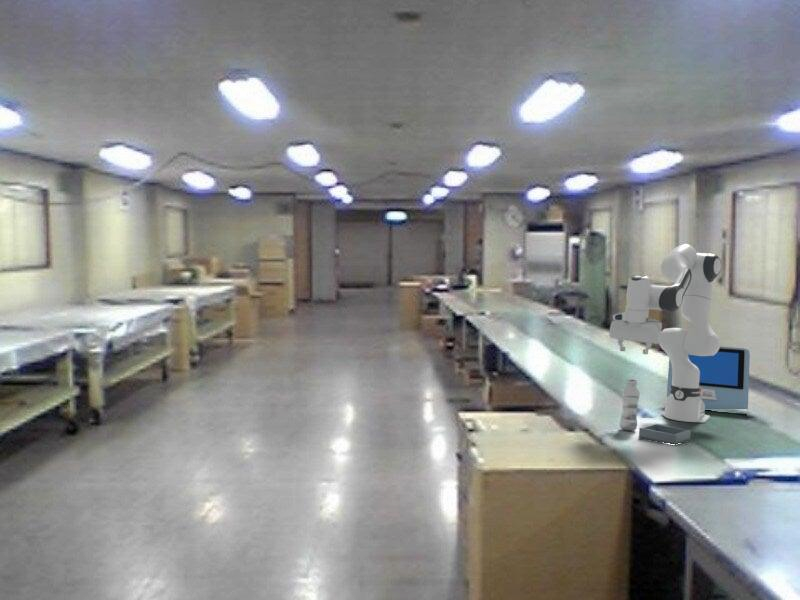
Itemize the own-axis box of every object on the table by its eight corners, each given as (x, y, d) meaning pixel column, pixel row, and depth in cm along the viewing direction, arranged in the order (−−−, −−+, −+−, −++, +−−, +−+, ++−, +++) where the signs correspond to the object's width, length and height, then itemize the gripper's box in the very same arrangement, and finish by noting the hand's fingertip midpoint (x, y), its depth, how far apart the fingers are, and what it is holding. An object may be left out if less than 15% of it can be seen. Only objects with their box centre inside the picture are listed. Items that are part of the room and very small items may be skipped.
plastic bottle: (623, 428, 315) (626, 378, 314) (639, 431, 311) (643, 380, 310) (616, 430, 310) (620, 379, 309) (632, 433, 306) (636, 382, 305)
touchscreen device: (666, 407, 369) (671, 343, 368) (665, 402, 387) (669, 341, 387) (747, 416, 358) (752, 350, 358) (742, 410, 377) (747, 347, 376)
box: (654, 433, 308) (655, 423, 308) (689, 440, 299) (690, 430, 298) (638, 438, 297) (639, 428, 297) (675, 446, 288) (676, 435, 288)
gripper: (665, 319, 304) (662, 355, 305) (616, 314, 317) (613, 349, 318) (658, 320, 299) (656, 356, 300) (608, 315, 313) (606, 349, 313)
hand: (633, 352), depth 309 cm, fingers open, 8 cm apart
